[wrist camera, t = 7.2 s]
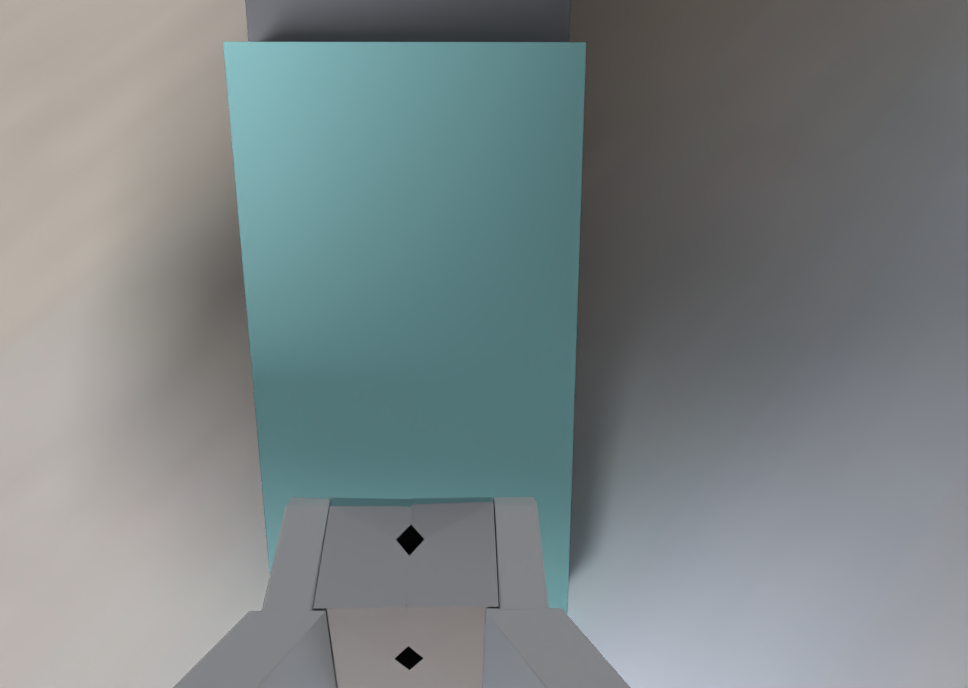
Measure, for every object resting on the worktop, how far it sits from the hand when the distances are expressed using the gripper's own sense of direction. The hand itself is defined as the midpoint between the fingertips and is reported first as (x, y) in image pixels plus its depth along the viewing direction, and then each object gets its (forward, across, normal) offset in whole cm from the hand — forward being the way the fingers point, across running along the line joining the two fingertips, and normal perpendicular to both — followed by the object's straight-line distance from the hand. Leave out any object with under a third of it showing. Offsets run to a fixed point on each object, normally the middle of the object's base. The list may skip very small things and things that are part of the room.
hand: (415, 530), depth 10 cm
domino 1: (+2, 0, +5) cm, 6 cm away
